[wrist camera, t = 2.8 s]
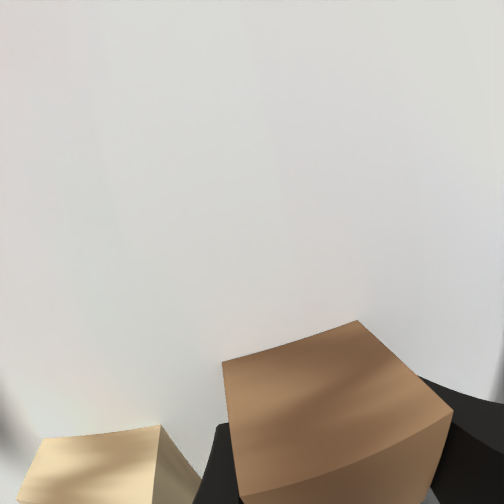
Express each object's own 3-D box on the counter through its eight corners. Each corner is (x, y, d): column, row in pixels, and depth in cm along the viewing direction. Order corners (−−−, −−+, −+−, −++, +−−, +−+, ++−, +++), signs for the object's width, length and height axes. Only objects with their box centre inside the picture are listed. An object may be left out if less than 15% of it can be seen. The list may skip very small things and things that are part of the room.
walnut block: (357, 320, 9) (453, 410, 5) (363, 413, 10) (423, 500, 6) (221, 362, 9) (239, 496, 4) (255, 449, 10) (281, 555, 5)
